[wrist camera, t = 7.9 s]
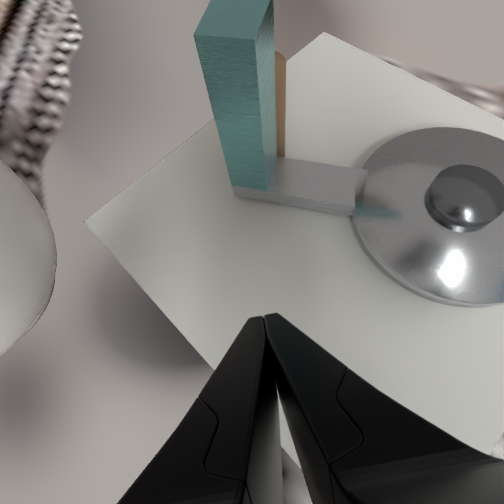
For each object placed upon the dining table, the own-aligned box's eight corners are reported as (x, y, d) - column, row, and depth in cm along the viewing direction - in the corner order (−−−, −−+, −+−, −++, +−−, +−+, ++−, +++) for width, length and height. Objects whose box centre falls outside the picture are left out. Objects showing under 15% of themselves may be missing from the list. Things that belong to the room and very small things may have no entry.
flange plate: (548, 153, 17) (790, -60, 9) (568, 331, 14) (1003, 246, 5) (260, 116, 20) (245, -69, 12) (214, 254, 17) (147, 124, 8)
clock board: (392, 567, 12) (521, 777, 6) (94, 230, 20) (0, 152, 13) (634, 207, 17) (852, 96, 11) (322, 47, 25) (336, -77, 18)
